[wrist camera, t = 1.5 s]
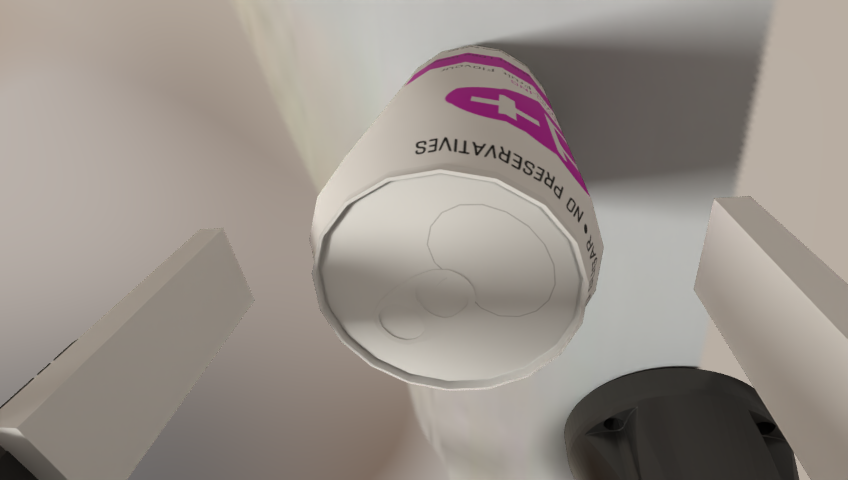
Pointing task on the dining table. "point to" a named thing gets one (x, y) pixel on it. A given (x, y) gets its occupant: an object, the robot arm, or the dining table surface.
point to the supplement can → (458, 230)
